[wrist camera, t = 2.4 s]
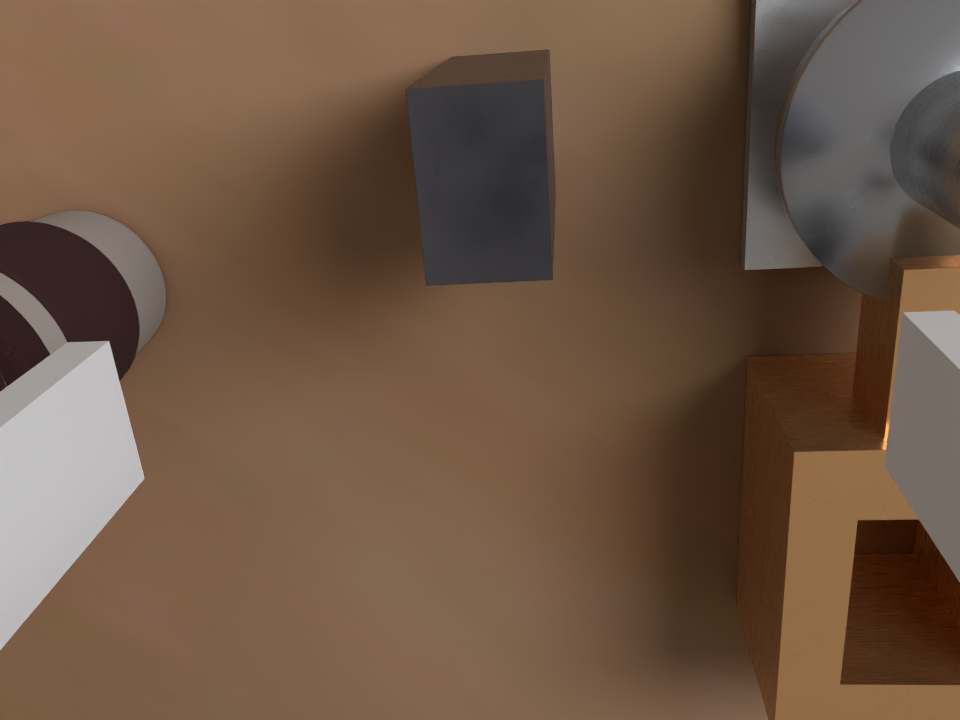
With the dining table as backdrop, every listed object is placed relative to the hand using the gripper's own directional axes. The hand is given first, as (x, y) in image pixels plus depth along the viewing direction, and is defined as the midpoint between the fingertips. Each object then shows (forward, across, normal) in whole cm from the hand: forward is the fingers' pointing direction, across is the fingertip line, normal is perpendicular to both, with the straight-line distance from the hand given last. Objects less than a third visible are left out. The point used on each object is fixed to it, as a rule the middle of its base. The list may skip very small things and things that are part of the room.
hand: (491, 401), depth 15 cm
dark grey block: (+25, -1, +1) cm, 25 cm away
